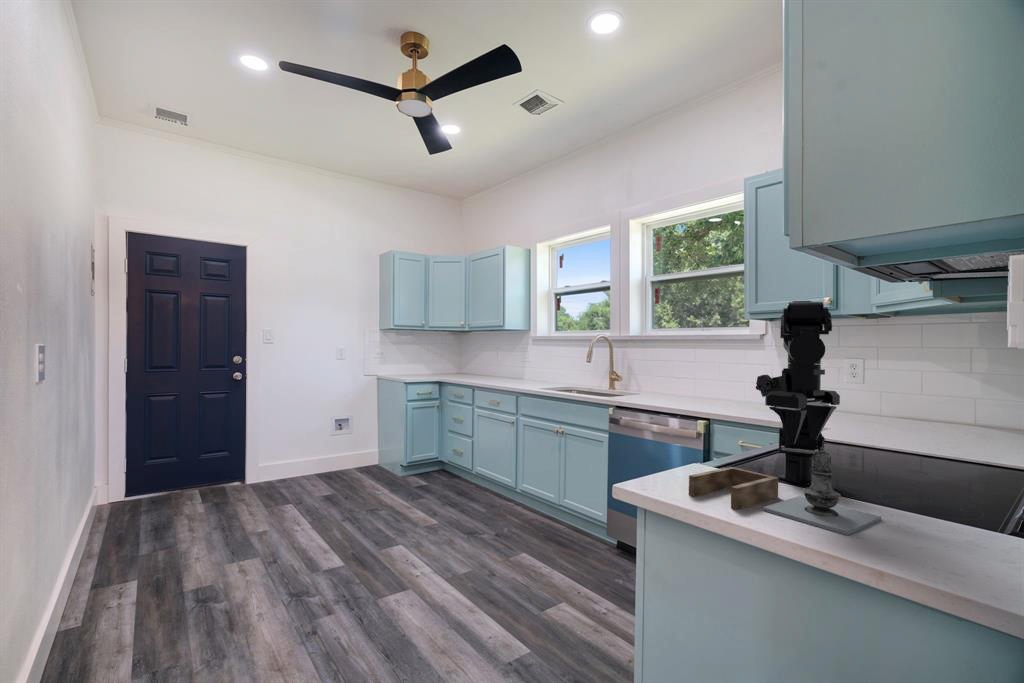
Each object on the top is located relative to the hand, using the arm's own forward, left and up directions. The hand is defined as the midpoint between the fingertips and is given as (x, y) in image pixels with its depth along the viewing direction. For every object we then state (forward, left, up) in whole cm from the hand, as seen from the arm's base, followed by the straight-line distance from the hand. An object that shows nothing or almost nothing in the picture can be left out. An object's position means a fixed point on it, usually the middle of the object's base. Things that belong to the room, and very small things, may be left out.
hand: (802, 441), depth 96 cm
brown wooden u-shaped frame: (+10, -9, -12) cm, 18 cm away
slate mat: (+6, +6, -12) cm, 15 cm away
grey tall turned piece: (+6, +6, -12) cm, 14 cm away
